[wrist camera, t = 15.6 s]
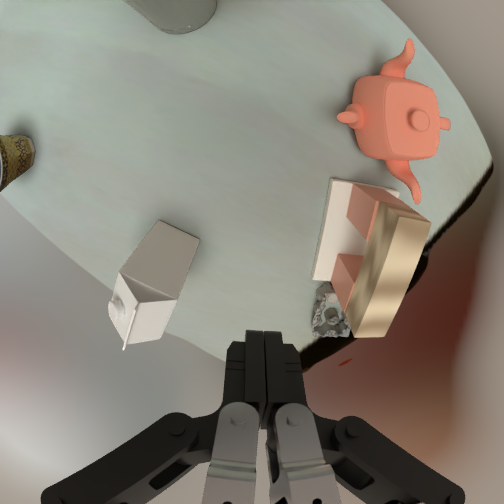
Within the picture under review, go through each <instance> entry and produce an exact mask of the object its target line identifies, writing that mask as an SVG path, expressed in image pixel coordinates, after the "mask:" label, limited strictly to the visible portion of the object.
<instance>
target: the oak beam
mask: <svg viewBox="0 0 504 504" xmlns="http://www.w3.org/2000/svg"><path fill="white" fill-rule="evenodd" d="M430 226H431V222H430V221H428V220H427V219H426V218H424V217H423V216H421V215H420V214H419V213H417V212H416V211H415V210H413V209H412V208H410V207H407V206H402V205H397V204H393V203H388V202H383V201H379V204H378V208H377V212H376V216H375V220H374V223H373V227H372V231H371V234H370V238H369V241H368V244H367V248H366V251H365V254H364V258H363V261H362V264H361V267H360V270H359V273H358V276H357V279H356V282H355V285H354V288H353V291H352V293H351V296H350V299H349V302H348V304H347V307H346V310H345V315H346V317H347V320H348V322H349V325H350V327H351V330H352V332H353V335H354V337H384V336H385V334H386V332H387V330H388V328H389V326H390V324H391V322H392V320H393V318H394V316H395V314H396V312H397V310H398V308H399V306H400V303H401V301H402V299H403V297H404V295H405V292H406V290H407V288H408V285H409V283H410V281H411V278H412V276H413V273H414V271H415V268H416V266H417V263H418V261H419V258H420V255H421V253H422V250H423V247H424V244H425V241H426V239H427V236H428V233H429V230H430Z"/></svg>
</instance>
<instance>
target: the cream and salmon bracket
mask: <svg viewBox="0 0 504 504" xmlns="http://www.w3.org/2000/svg"><path fill="white" fill-rule="evenodd" d="M399 194H400V192H399V191H397V190H395V189H390V188H385V187H380V186H375V185H370V184H364V183H358V182H352V181H346V180H340V179H334V178H330V182H329V188H328V194H327V199H326V205H325V210H324V216H323V221H322V226H321V231H320V236H319V241H318V246H317V250H316V255H315V260H314V264H313V269H312V273H311V276H312V279H313V280H324V281H331V283H332V286H333V288H334V290H335V293H336V295H337V298H338V300H339V303H340V305H341V307H342V310H343V312H344V313H345V310H346V307H347V304H348V302H349V299H350V296H351V293H352V291H353V288H354V285H355V282H356V279H357V276H358V273H359V270H360V267H361V264H362V261H363V258H364V254H365V251H366V248H367V244H368V241H369V238H370V234H371V231H372V227H373V223H374V220H375V216H376V212H377V208H378V204H379V201H383V202H388V203H393V204H397V205H402V206H407V207H410V206H408V205H407V204H405V203H404V202H402V201H401V200H399V199H398V198H399Z"/></svg>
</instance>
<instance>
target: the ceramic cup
mask: <svg viewBox="0 0 504 504" xmlns="http://www.w3.org/2000/svg"><path fill="white" fill-rule="evenodd" d="M34 155H35V148H34V145H33V142H32V139H30V138H27V137H25V136H23V135H6V136H3V135H0V192H1V191H2V190H3V189H4V188H5V187H6V186H7V185H8V184H9V183H10V182H12V181H13V180H14V179H16V178H17V177H18V176H20V175H21V174H23V173H24V172H25V171H26V170H28V169H29V168H30V167H31V166H32V165H33V161H34Z"/></svg>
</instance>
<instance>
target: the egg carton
mask: <svg viewBox="0 0 504 504" xmlns="http://www.w3.org/2000/svg"><path fill="white" fill-rule="evenodd" d="M316 293H317V294H316V296H317V297H318V300H319V301H320V302H318V303H316V304H314V312H315V316H314V318H312V324H313V326H312V328H313V329H312V332H313V336H316V335H321V336H322V337H325V336H329V337H332V336H333V337H337V336H343V337H348V335H349V332H350V329H351V327H350V325H349V322H348V320H347V317H346V315H345V313H344V312H343V310H342V313H341V314H342V316H343V319H344V321H342V322H340V320H339V317H338V314H337V311H336V310H335V309H334V308H328V309H327V310H326V311H325V312H324V315H325V318H326V322H325V323H323V325H322V326H319V327H317V326H316V325H319V323H320V322H322V320H321V317H320V314H322V310H323V309H324V307H325V301H326V297H327V296H328V295H329V294H330V295H329V296H328V297H327V301H328V302H329V303H335V302H337V301H338V298H337V295H336V293H335V290H334V288H333V287H332V286H331V284H330V282H325V283H324V284H323V286H322V287H320V288H318V289H317V292H316ZM339 322H340V323H339ZM338 323H339V324H338ZM336 324H338V325H336ZM334 325H335V326H334Z"/></svg>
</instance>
